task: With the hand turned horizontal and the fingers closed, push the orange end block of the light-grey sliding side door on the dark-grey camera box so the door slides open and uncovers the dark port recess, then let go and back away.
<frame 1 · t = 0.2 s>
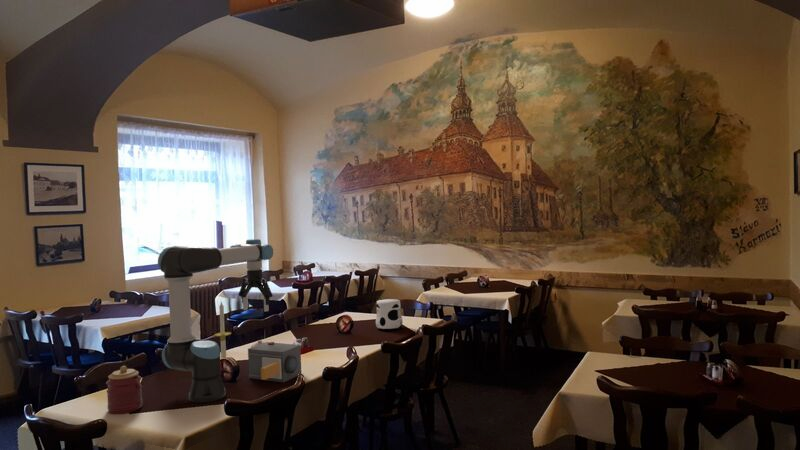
hand: (255, 310, 294), 28 cm above the table, tool pointing down, fingers open, 13 cm apart
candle: (224, 363, 300), on the table
side door: (264, 371, 258), point 7 cm above the table, slide at 0.0 cm
canister: (125, 409, 234), on the table
camera body: (275, 375, 273), on the table
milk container: (389, 329, 370), on the table
teacup with lid: (262, 362, 299), on the table
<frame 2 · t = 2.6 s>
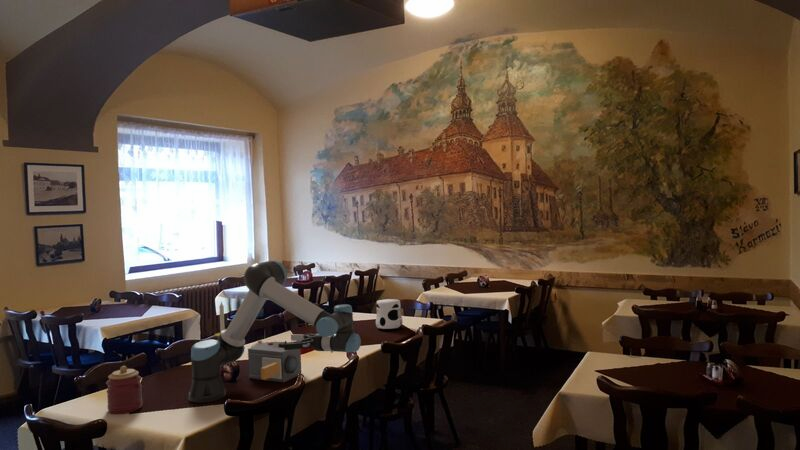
hand: (282, 341, 250), 22 cm above the table, tool horizontal, fingers open, 13 cm apart
nothing on the table moved.
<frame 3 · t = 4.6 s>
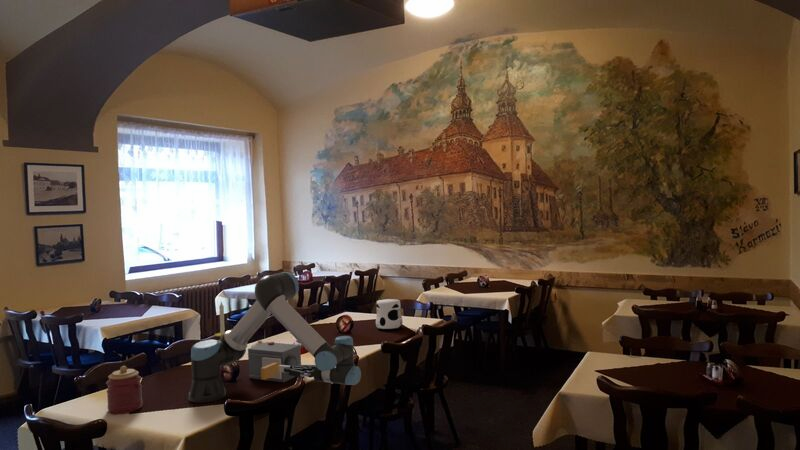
hand: (279, 368, 249), 10 cm above the table, tool horizontal, fingers closed
nothing on the table moved.
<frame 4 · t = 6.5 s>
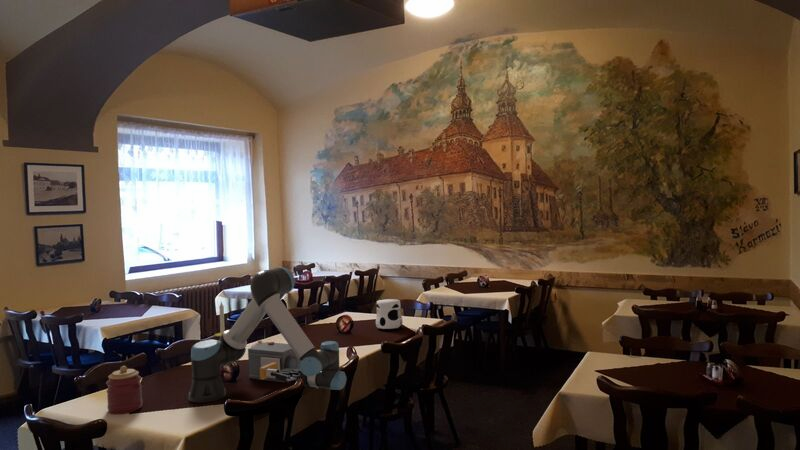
hand: (266, 372, 253), 8 cm above the table, tool horizontal, fingers closed
side door: (263, 370, 258), point 7 cm above the table, slide at 0.7 cm, touching gripper
everything else where it was.
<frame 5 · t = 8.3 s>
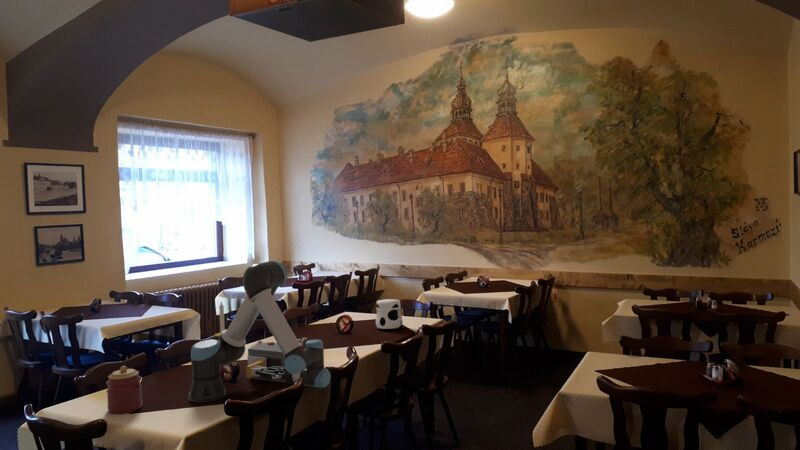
hand: (253, 370, 256), 8 cm above the table, tool horizontal, fingers closed
side door: (249, 369, 262), point 7 cm above the table, slide at 8.4 cm
everything else where it was.
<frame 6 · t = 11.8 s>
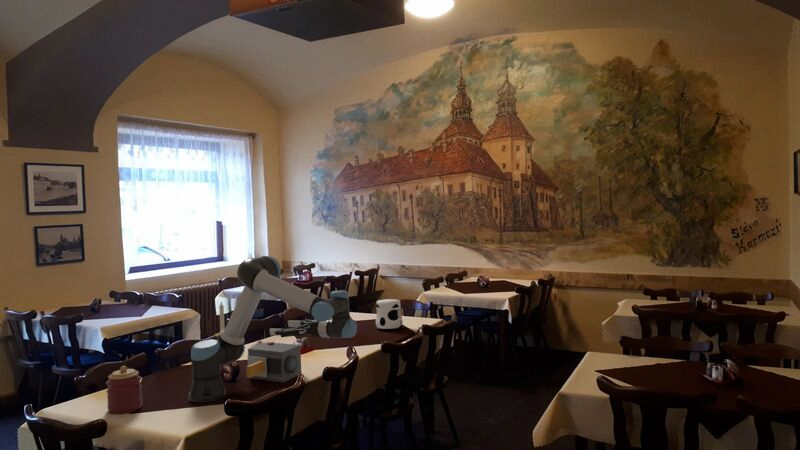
hand: (279, 327, 250), 28 cm above the table, tool horizontal, fingers open, 13 cm apart
nothing on the table moved.
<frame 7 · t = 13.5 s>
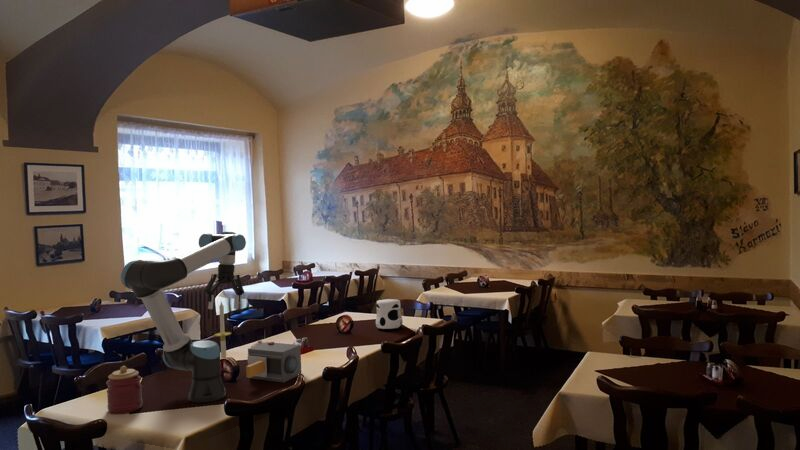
hand: (223, 308, 272), 33 cm above the table, tool pointing down, fingers open, 13 cm apart
nothing on the table moved.
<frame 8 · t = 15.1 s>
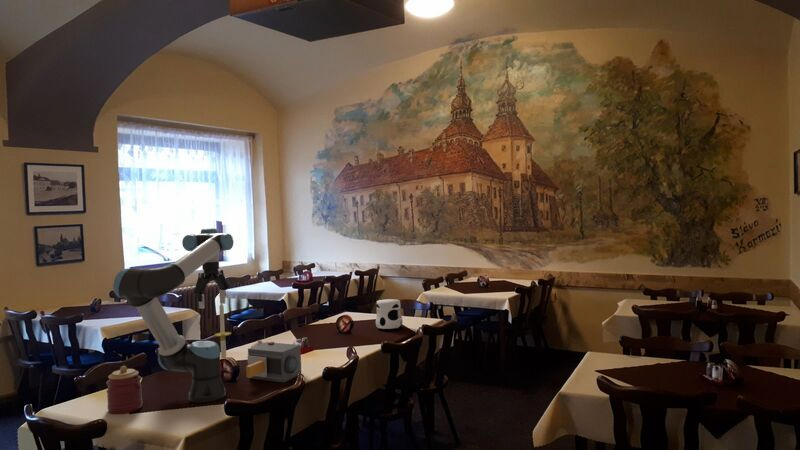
hand: (212, 305, 271), 35 cm above the table, tool pointing down, fingers open, 13 cm apart
nothing on the table moved.
at the end: side door slide at 8.4 cm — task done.
